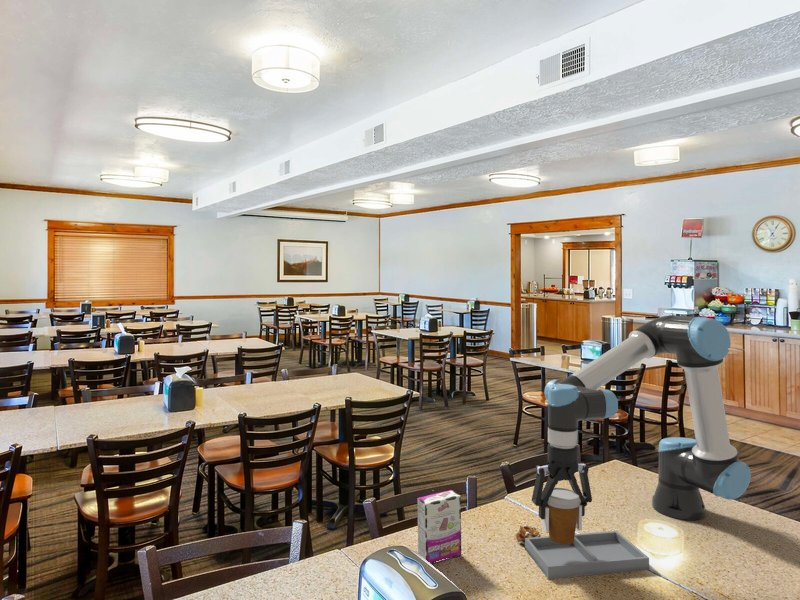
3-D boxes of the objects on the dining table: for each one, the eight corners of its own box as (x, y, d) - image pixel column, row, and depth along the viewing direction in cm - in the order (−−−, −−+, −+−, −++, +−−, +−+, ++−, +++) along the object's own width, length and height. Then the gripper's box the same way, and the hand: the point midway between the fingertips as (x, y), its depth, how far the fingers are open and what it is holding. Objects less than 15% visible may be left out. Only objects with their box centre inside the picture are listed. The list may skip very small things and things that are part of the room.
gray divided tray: (616, 541, 145) (616, 530, 145) (648, 569, 131) (649, 557, 131) (524, 548, 141) (524, 538, 141) (548, 578, 127) (548, 566, 127)
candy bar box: (451, 547, 142) (451, 489, 142) (461, 555, 138) (462, 495, 137) (416, 557, 137) (416, 496, 136) (426, 566, 132) (426, 504, 132)
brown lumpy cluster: (535, 528, 154) (535, 517, 154) (544, 548, 142) (544, 536, 142) (512, 527, 154) (512, 516, 154) (519, 548, 142) (519, 535, 142)
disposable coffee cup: (583, 549, 129) (583, 502, 129) (544, 545, 131) (544, 499, 131) (577, 531, 139) (578, 487, 138) (541, 528, 141) (541, 485, 140)
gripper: (592, 438, 139) (591, 519, 140) (518, 441, 136) (517, 525, 137) (607, 446, 132) (606, 533, 133) (529, 450, 129) (529, 539, 129)
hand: (561, 529), depth 135 cm, fingers closed on disposable coffee cup, 8 cm apart
